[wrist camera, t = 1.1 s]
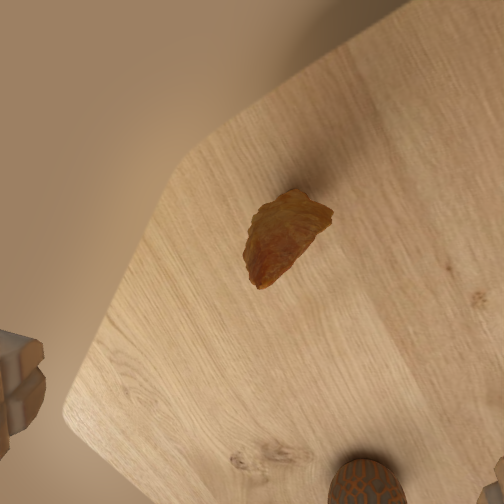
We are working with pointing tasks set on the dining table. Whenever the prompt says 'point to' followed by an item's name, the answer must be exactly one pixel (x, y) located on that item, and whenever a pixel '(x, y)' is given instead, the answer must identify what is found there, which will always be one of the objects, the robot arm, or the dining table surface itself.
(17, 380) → the robot arm
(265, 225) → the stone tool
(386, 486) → the vase
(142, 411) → the dining table surface
